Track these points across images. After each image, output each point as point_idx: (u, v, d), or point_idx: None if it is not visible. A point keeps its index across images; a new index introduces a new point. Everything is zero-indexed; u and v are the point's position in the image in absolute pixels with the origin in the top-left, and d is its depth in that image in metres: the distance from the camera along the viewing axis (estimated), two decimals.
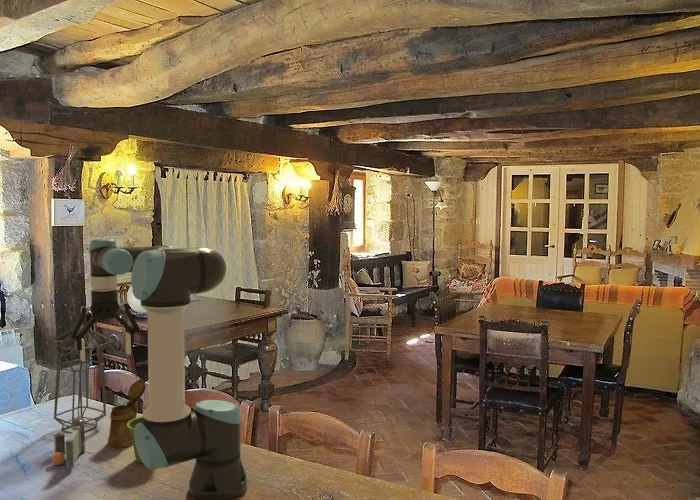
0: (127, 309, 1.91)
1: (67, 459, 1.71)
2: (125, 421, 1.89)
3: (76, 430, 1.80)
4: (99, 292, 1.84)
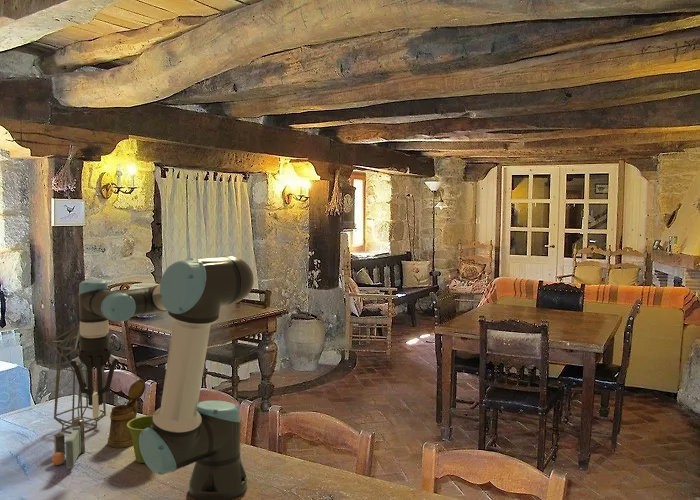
0: (113, 365, 1.74)
1: (67, 459, 1.71)
2: (125, 421, 1.89)
3: (76, 430, 1.80)
4: (84, 339, 1.70)
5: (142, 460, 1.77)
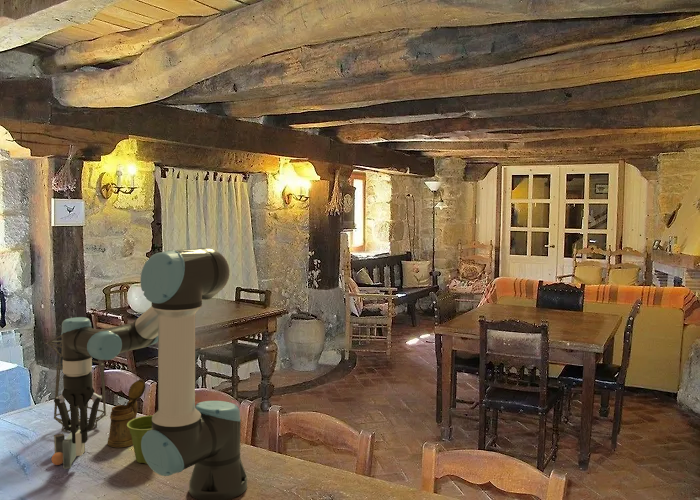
0: (95, 403, 1.72)
1: (64, 459, 1.71)
2: (125, 421, 1.89)
3: None
4: (66, 377, 1.70)
5: (142, 460, 1.77)
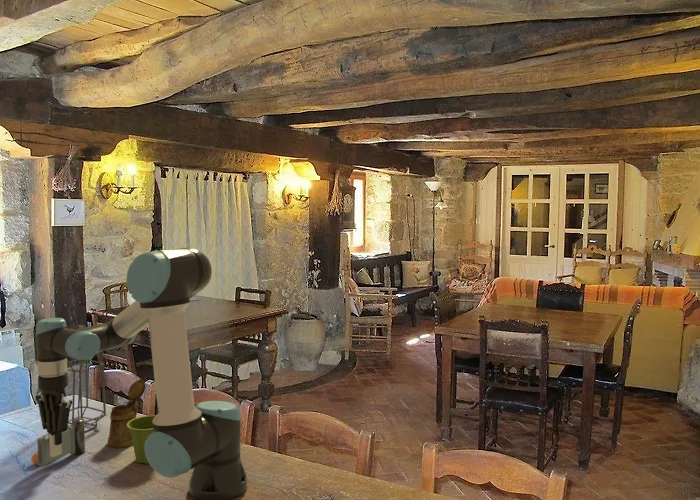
0: (61, 408, 1.69)
1: (38, 457, 1.73)
2: (125, 421, 1.89)
3: (67, 430, 1.80)
4: (39, 376, 1.70)
5: (142, 460, 1.77)
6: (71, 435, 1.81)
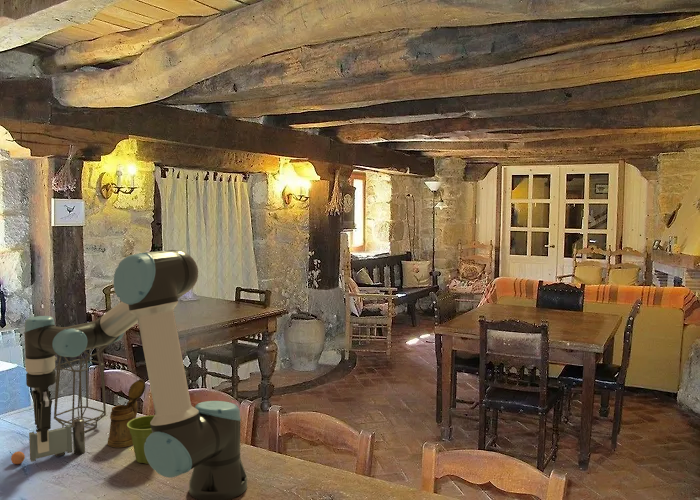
0: (41, 406, 1.70)
1: (30, 451, 1.77)
2: (125, 421, 1.89)
3: (63, 428, 1.81)
4: None
5: (142, 460, 1.77)
6: (67, 434, 1.81)
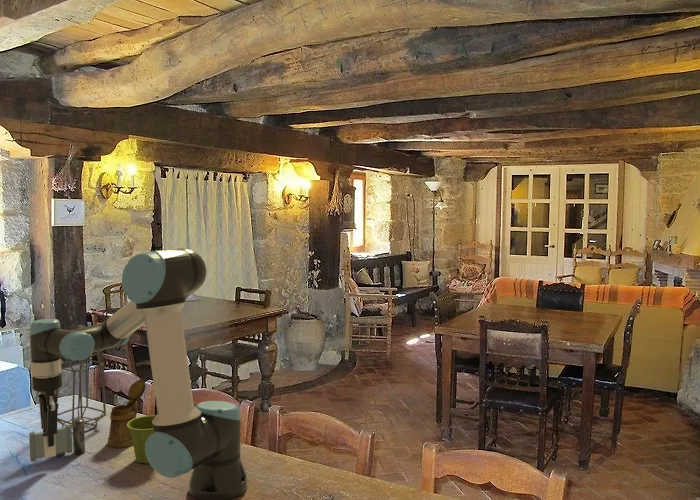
0: (47, 410, 1.68)
1: (30, 451, 1.77)
2: (125, 421, 1.89)
3: (63, 428, 1.81)
4: (34, 376, 1.71)
5: (142, 460, 1.77)
6: (67, 434, 1.81)
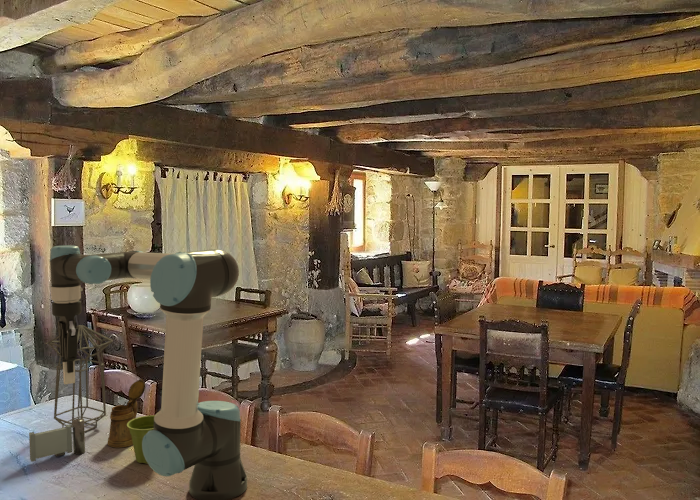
0: (67, 335, 1.68)
1: (30, 451, 1.77)
2: (125, 421, 1.89)
3: (63, 428, 1.81)
4: None
5: (142, 460, 1.77)
6: (67, 434, 1.81)
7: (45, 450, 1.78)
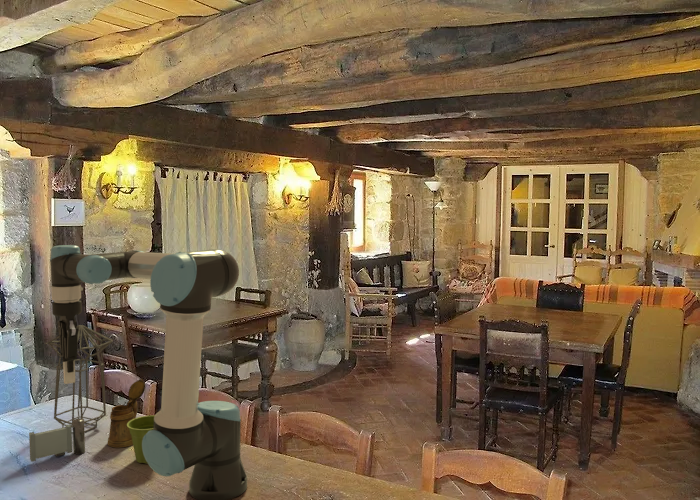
0: (68, 334, 1.68)
1: (30, 451, 1.77)
2: (125, 421, 1.89)
3: (63, 428, 1.81)
4: None
5: (142, 460, 1.77)
6: (67, 434, 1.81)
7: (45, 450, 1.78)
